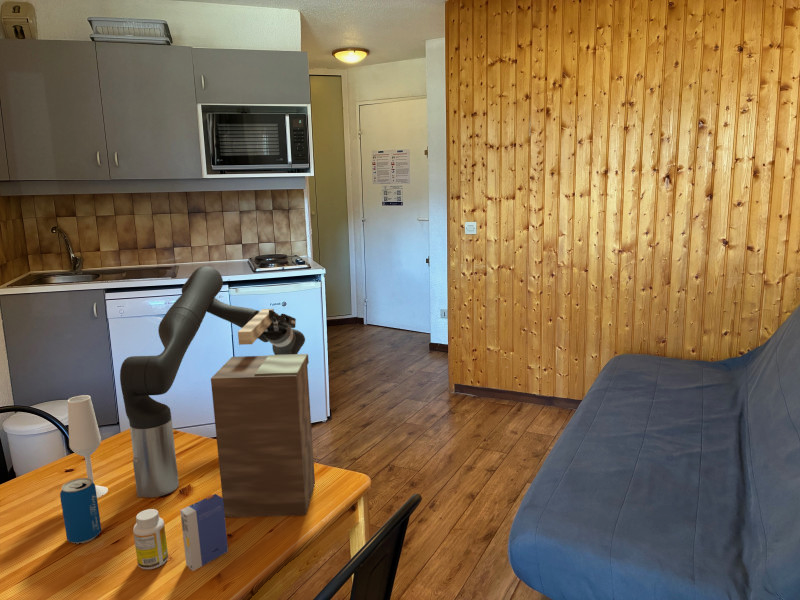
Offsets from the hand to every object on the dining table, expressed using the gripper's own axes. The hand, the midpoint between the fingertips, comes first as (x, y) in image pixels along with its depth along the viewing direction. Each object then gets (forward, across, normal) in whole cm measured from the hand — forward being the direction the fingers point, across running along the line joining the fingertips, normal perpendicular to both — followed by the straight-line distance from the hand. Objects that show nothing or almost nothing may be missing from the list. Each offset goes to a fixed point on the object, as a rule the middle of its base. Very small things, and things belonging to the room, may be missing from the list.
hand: (263, 313), depth 153 cm
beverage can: (+13, -32, +52) cm, 63 cm away
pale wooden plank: (+4, 0, +6) cm, 7 cm away
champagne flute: (-3, -40, +43) cm, 59 cm away
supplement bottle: (+21, -14, +57) cm, 62 cm away
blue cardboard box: (+20, -3, +56) cm, 60 cm away
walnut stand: (+1, +5, +45) cm, 45 cm away
